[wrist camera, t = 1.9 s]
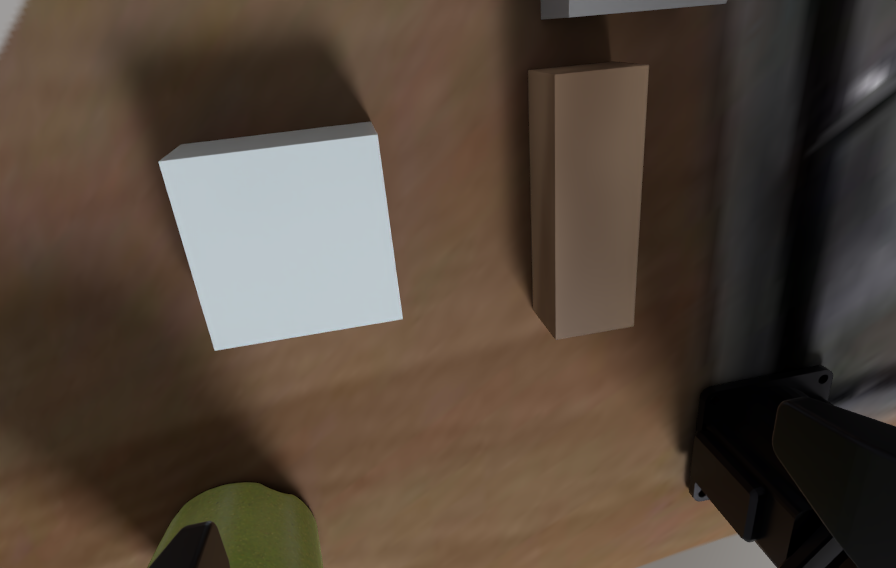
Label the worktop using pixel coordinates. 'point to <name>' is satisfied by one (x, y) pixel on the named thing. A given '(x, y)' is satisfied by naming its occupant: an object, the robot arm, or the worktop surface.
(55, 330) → the worktop surface
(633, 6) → the tan block grey base
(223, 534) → the plant pot
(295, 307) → the tile
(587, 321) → the stop bar
